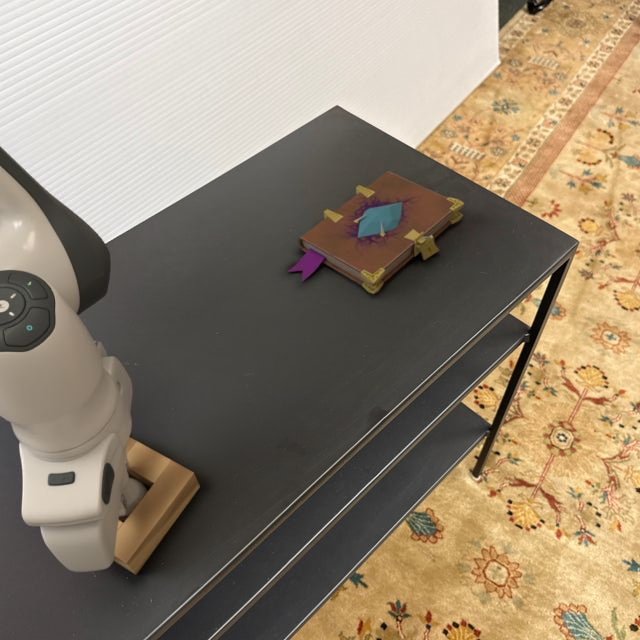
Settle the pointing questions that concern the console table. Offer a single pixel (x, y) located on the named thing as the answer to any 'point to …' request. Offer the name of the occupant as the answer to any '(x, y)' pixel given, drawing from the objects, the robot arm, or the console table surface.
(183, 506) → the square wooden frame
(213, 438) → the console table surface
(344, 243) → the book
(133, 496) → the rook chess piece
